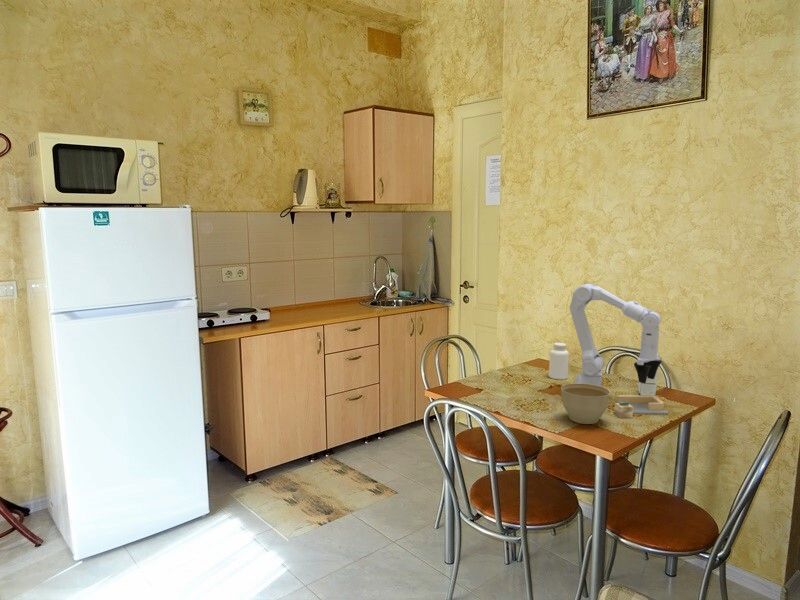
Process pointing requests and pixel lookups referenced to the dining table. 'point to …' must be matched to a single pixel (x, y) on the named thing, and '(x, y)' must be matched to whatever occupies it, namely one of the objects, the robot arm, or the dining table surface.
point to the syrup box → (648, 386)
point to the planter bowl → (585, 402)
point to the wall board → (643, 404)
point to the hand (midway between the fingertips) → (646, 380)
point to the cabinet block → (623, 410)
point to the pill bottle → (558, 362)
